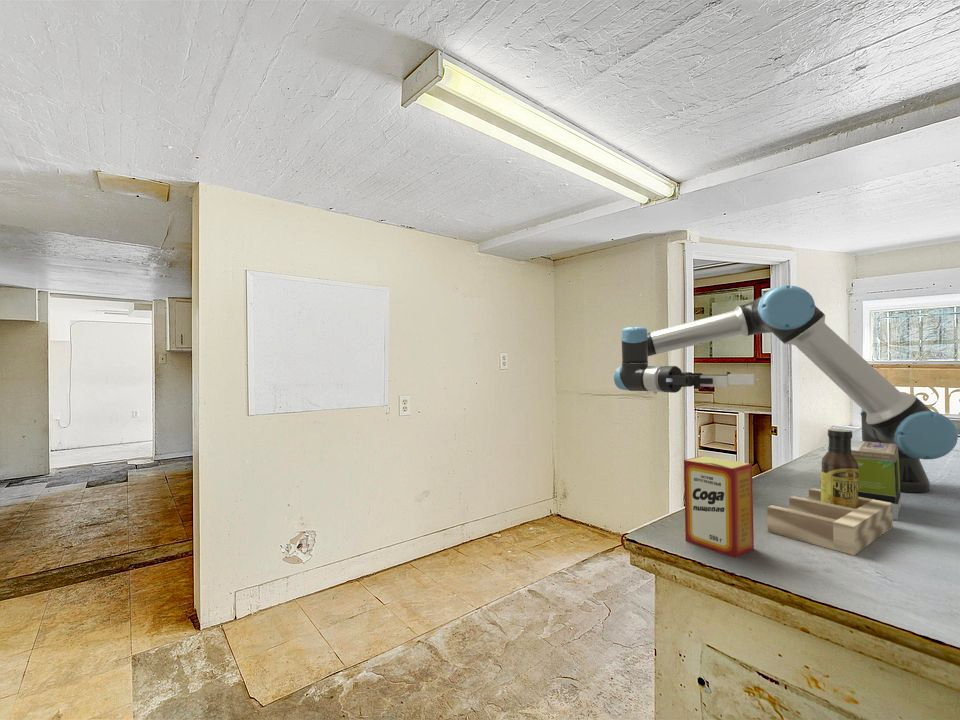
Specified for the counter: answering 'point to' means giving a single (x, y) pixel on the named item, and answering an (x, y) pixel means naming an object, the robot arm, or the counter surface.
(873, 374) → the robot arm
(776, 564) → the counter surface
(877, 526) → the comb rack
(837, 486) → the sauce bottle
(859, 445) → the tea box
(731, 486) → the baking soda box
